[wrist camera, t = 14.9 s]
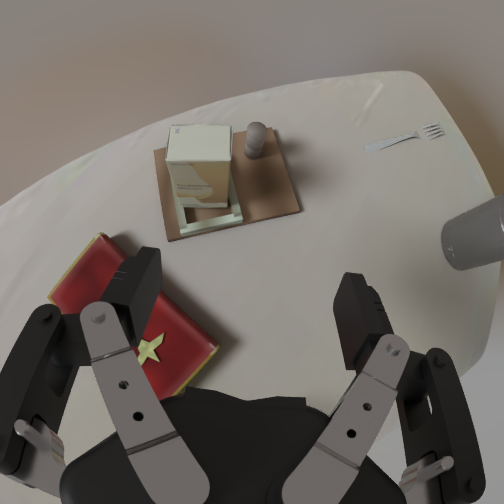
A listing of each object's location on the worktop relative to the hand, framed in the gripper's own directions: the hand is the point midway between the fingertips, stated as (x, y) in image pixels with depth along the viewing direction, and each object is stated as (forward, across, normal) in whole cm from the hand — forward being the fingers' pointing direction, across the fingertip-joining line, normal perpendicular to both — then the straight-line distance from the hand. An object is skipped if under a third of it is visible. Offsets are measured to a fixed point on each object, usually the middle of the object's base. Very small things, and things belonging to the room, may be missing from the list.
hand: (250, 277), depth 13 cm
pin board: (+29, +4, +7) cm, 30 cm away
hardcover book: (+15, +14, +22) cm, 30 cm away
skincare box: (+25, +6, +7) cm, 27 cm away
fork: (+41, -26, -3) cm, 48 cm away
